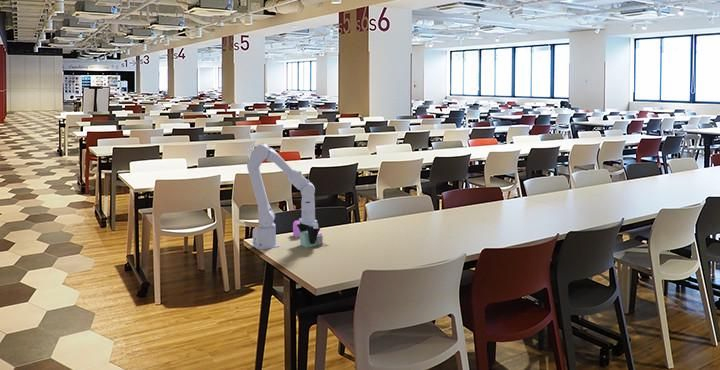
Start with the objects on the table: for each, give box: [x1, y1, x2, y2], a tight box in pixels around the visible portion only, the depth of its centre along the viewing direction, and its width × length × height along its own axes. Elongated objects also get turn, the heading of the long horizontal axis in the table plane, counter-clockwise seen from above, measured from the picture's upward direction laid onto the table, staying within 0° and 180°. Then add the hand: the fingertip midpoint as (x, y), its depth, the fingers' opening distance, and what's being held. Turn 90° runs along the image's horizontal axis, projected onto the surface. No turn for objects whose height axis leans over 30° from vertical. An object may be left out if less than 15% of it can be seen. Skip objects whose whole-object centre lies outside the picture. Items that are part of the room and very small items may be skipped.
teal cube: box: [299, 231, 317, 249], centre depth 271 cm, size 5×5×6 cm
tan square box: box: [312, 234, 329, 248], centre depth 273 cm, size 6×6×4 cm
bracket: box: [292, 220, 323, 238], centre depth 291 cm, size 13×6×7 cm, turn 104°
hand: (308, 242), depth 272 cm, fingers open, 7 cm apart
